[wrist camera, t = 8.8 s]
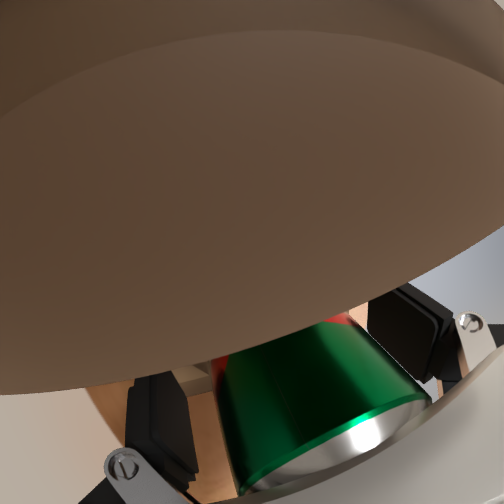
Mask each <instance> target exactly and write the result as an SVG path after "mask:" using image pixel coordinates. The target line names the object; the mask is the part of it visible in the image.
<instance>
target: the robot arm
mask: <svg viewBox="0 0 504 504" xmlns="http://www.w3.org/2000/svg"><path fill="white" fill-rule="evenodd" d="M452 317H453V312H451V311H450V310H449V309H447V308H445V307H444V306H443V305H441V304H440V303H438V302H437V301H435V300H434V299H432V298H431V297H429V296H428V295H426V294H425V293H423V292H421V291H420V290H419V289H417V288H415V287H414V286H412V285H411V284H409V283H408V282H407V283H405V284H403V285H401V286H399V287H397V288H395V289H393V290H391V291H389V292H387V293H385V294H383V295H381V296H379V297H377V298H374V299H372V300H370V301H368V319H367V330H368V332H369V334H370V335H371V336H372V337H373V338H374V339H375V340H376V341H377V342H378V343H379V344H380V345H381V346H382V347H383V348H384V349H385V350H386V351H387V352H388V353H389V354H390V355H391V356H392V357H393V358H394V359H395V360H396V361H397V362H398V363H399V364H400V365H401V366H402V367H403V368H404V369H405V370H406V371H407V372H408V373H409V374H410V375H411V376H412V377H413V378H414V379H415V380H420V381H421V382H422V383H423V384H425V383H426V382H428V381H429V380H430V379H431V378H432V377H433V376H434V377H435V378H436V379H437V386H438V395H439V399H438V400H437V401H436V402H434V403H433V404H432V405H431V406H429V407H428V408H427V409H425V410H424V411H423V412H421V413H420V414H419V415H417V416H416V417H414V418H413V419H411V420H410V421H409V422H407V423H406V424H405V425H404V426H402V427H401V428H400V429H399V430H398V431H397V432H395V433H394V434H393V435H391V436H390V437H389V438H387V439H386V440H384V441H383V442H382V443H380V444H378V445H377V446H375V447H373V448H372V449H370V450H368V451H366V452H365V453H363V454H361V455H359V456H356V457H354V458H352V459H350V460H348V461H346V462H343V463H341V464H338V465H335V466H333V467H330V468H327V469H324V470H321V471H317V472H315V473H312V474H310V475H307V476H305V477H302V478H299V479H297V480H294V481H291V482H288V483H285V484H283V485H280V486H276V487H273V488H270V489H267V490H263V491H260V492H256V493H253V494H249V495H245V496H241V497H237V498H233V499H229V500H224V501H219V502H214V503H209V504H504V324H487V323H486V321H485V319H484V318H483V317H482V316H481V315H480V314H478V313H476V312H472V311H465V312H461V313H460V314H458V315H457V317H456V319H454V318H452ZM104 472H105V474H106V478H105V479H104V480H103V481H101V482H100V483H99V484H98V485H97V486H96V487H95V488H94V489H93V490H92V491H91V492H90V493H89V494H88V495H87V496H86V497H85V498H83V499H82V500H81V501H80V502H79V503H78V504H203V503H202V502H200V501H199V500H198V499H197V498H196V497H194V496H193V495H192V494H191V493H190V492H188V491H187V489H188V488H189V484H188V482H190V481H196V478H195V473H198V472H199V469H198V464H197V458H196V453H195V447H194V441H193V435H192V429H191V423H190V416H189V409H188V402H187V398H186V395H185V393H184V391H183V390H182V388H181V386H180V385H179V383H178V381H177V380H176V378H175V376H174V375H173V373H172V371H171V370H170V371H166V372H162V373H158V374H153V375H149V376H144V377H140V378H135V381H134V386H133V387H130V388H129V390H128V399H127V412H126V429H125V448H124V447H123V448H119V449H116V450H114V451H113V452H111V453H110V454H109V455H108V457H107V458H106V460H105V463H104Z"/></svg>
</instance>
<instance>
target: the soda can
mask: <svg viewBox="0 0 504 504" xmlns="http://www.w3.org/2000/svg"><path fill="white" fill-rule="evenodd" d="M207 362H208V368H209V373H210V379H211V384H212V389H213V394H214V400H215V404H216V409H217V414H218V419H219V423H220V428H221V432H222V437H223V441H224V445H225V450H226V454H227V458H228V462H229V466H230V470H231V473H232V477H233V481H234V485H235V488H236V492H237V495H238V497H241V496H245V495H249V494H253V493H256V492H260V491H263V490H267V489H270V488H273V487H276V486H280V485H283V484H285V483H288V482H291V481H294V480H297V479H299V478H302V477H305V476H307V475H310V474H312V473H315V472H317V471H321V470H324V469H327V468H330V467H333V466H335V465H338V464H341V463H343V462H346V461H348V460H350V459H352V458H354V457H356V456H359V455H361V454H363V453H365V452H366V451H368V450H370V449H372V448H373V447H375V446H377V445H378V444H380V443H382V442H383V441H384V440H386V439H387V438H389V437H390V436H391V435H393V434H394V433H395V432H397V431H398V430H399V429H400V428H401V427H402V426H404V425H405V424H406V423H407V422H409V421H410V420H411V419H413V418H414V417H416V416H417V415H419V414H420V413H421V412H423V411H424V410H425V409H427V408H428V407H429V406H431V405H432V404H433V403H432V398H431V397H430V396H429V395H428V393H426V391H425V390H424V389H423V388H422V387H421V386H420V385H419V384H418V383H417V382H416V381H415V380H414V379H413V378H412V377H411V376H410V375H409V374H408V373H407V372H406V371H405V370H404V369H403V368H402V367H401V366H400V365H399V364H398V363H397V362H396V361H395V360H394V359H393V358H392V357H391V356H390V355H389V354H388V353H387V352H386V351H385V350H384V349H383V348H382V347H381V346H380V345H379V344H378V343H377V342H376V341H375V340H374V339H373V338H372V337H371V336H370V335H369V334H368V333H367V332H366V331H365V330H364V329H363V328H362V327H361V326H360V325H359V324H358V323H357V322H356V321H355V320H354V319H353V318H352V317H351V316H350V315H349V314H348V313H347V312H346V311H345V312H343V313H341V314H338V315H336V316H334V317H331V318H329V319H326V320H324V321H322V322H319V323H317V324H314V325H312V326H309V327H306V328H304V329H301V330H299V331H296V332H293V333H291V334H288V335H285V336H282V337H280V338H277V339H274V340H271V341H268V342H265V343H262V344H260V345H257V346H254V347H251V348H247V349H244V350H241V351H238V352H235V353H232V354H228V355H225V356H222V357H218V358H215V359H212V360H208V361H207Z"/></svg>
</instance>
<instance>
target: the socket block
mask: <svg viewBox="0 0 504 504" xmlns="http://www.w3.org/2000/svg"><path fill="white" fill-rule="evenodd" d="M503 225H504V10H503V9H502V8H501V7H500V6H499V5H498V4H497V3H496V2H495V1H494V0H0V395H14V394H29V393H43V392H52V391H61V390H70V389H77V388H84V387H91V386H97V385H103V384H109V383H115V382H120V381H125V380H130V379H135V378H140V377H144V376H149V375H153V374H158V373H162V372H166V371H170V370H171V371H172V373H173V375H174V376H175V378H176V380H177V381H178V383H179V385H180V386H181V388H182V390H183V391H184V393H185V395H186V397H189V396H193V395H197V394H201V393H205V392H209V391H213V389H212V384H211V379H210V373H209V368H208V362H207V361H208V360H212V359H215V358H218V357H222V356H225V355H228V354H232V353H235V352H238V351H241V350H244V349H247V348H251V347H254V346H257V345H260V344H262V343H265V342H268V341H271V340H274V339H277V338H280V337H282V336H285V335H288V334H291V333H293V332H296V331H299V330H301V329H304V328H306V327H309V326H312V325H314V324H317V323H319V322H322V321H324V320H326V319H329V318H331V317H334V316H336V315H338V314H341V313H343V312H345V311H346V312H347V313H348V314H349V310H350V309H352V308H355V307H357V306H359V305H361V304H364V303H366V302H368V301H370V300H372V299H374V298H377V297H379V296H381V295H383V294H385V293H387V292H389V291H391V290H393V289H395V288H397V287H399V286H401V285H403V284H405V283H407V282H409V281H411V280H413V279H415V278H417V277H419V276H420V275H422V274H424V273H426V272H428V271H430V270H431V269H433V268H435V267H437V266H439V265H441V264H442V263H444V262H446V261H448V260H449V259H451V258H453V257H455V256H456V255H458V254H460V253H461V252H463V251H465V250H466V249H468V248H470V247H471V246H473V245H474V244H476V243H478V242H479V241H481V240H482V239H484V238H485V237H487V236H488V235H490V234H491V233H493V232H494V231H496V230H497V229H499V228H500V227H502V226H503Z"/></svg>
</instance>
